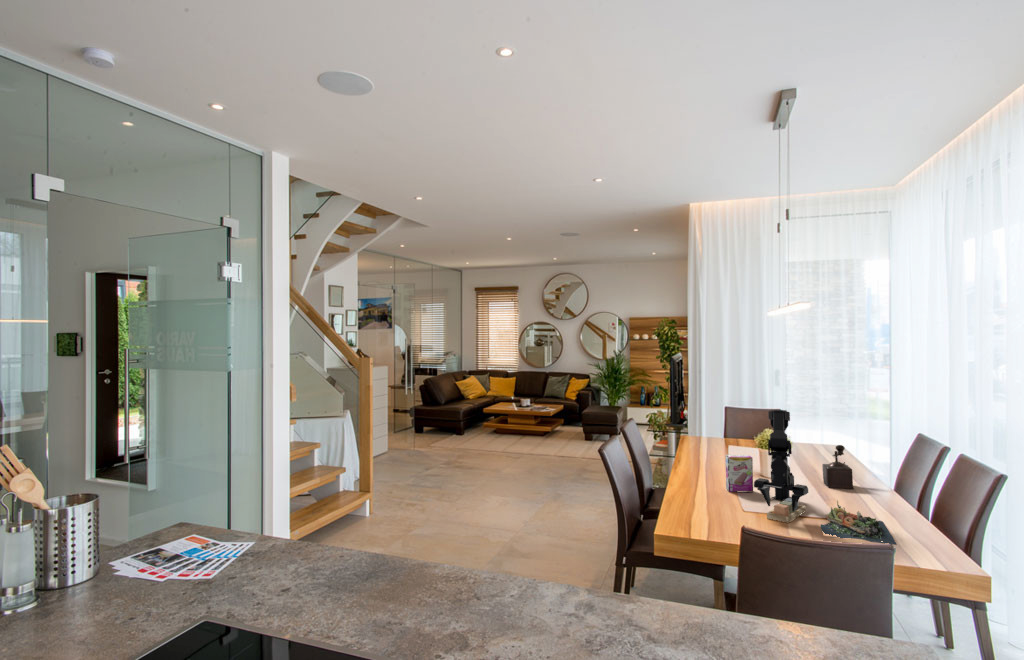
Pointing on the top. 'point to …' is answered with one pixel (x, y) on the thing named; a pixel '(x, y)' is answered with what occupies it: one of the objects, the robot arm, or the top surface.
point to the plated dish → (856, 527)
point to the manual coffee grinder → (837, 472)
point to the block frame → (792, 514)
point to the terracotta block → (781, 509)
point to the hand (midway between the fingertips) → (781, 508)
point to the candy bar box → (739, 473)
